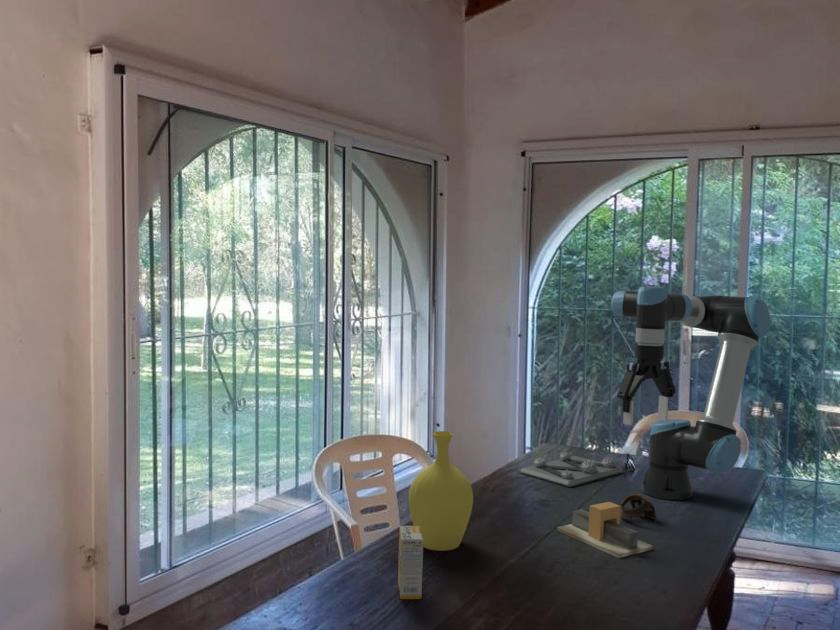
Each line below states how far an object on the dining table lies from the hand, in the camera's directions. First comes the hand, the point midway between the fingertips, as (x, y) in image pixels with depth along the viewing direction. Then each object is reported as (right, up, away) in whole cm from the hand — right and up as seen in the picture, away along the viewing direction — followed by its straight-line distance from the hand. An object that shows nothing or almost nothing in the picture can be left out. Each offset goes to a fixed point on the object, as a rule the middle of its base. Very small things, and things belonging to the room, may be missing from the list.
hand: (645, 422), depth 218 cm
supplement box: (-63, -30, -45) cm, 83 cm away
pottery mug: (0, -29, +8) cm, 30 cm away
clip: (-14, -28, -10) cm, 33 cm away
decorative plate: (-10, -25, +55) cm, 61 cm away
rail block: (-14, -29, -10) cm, 33 cm away
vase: (-56, -29, -16) cm, 65 cm away
